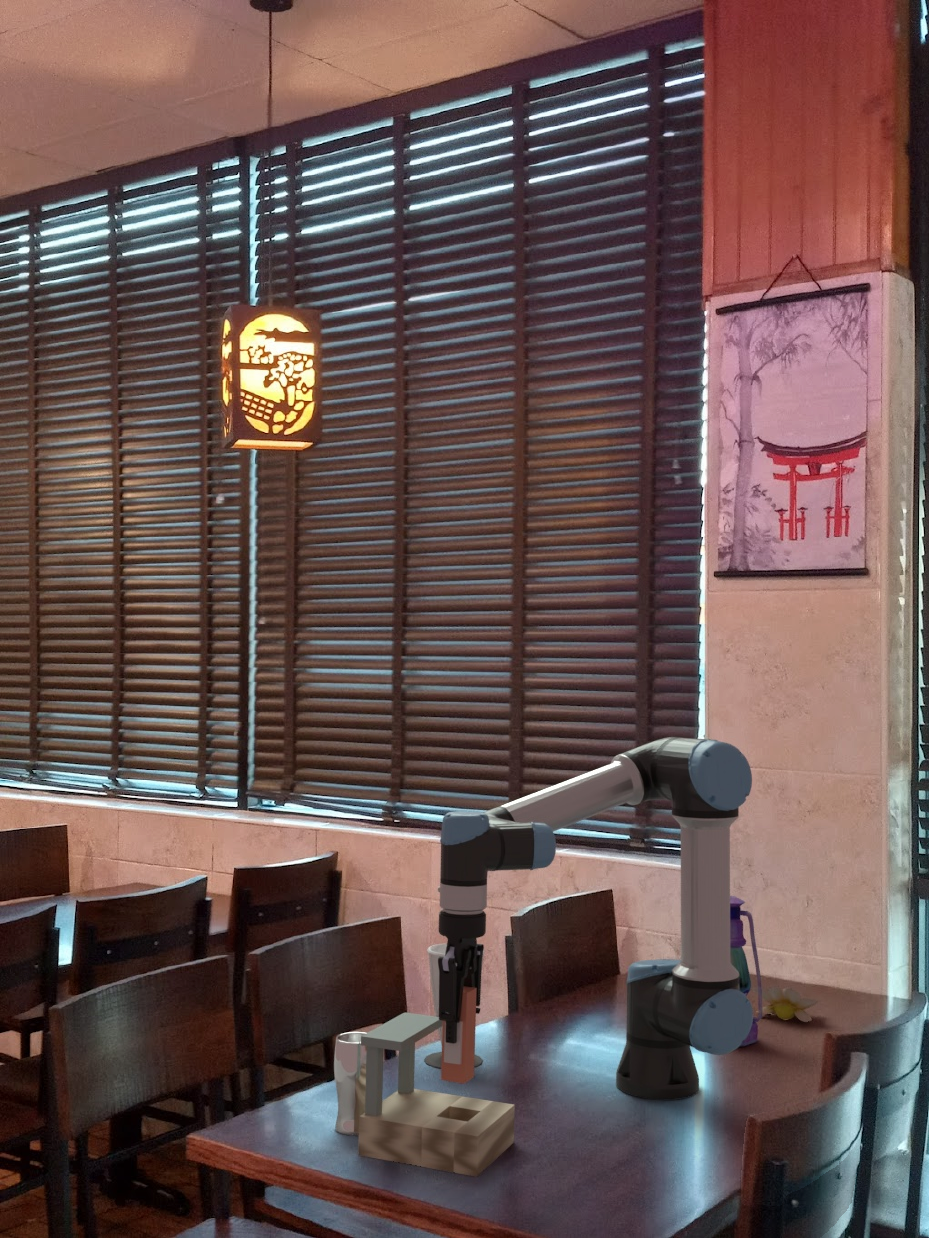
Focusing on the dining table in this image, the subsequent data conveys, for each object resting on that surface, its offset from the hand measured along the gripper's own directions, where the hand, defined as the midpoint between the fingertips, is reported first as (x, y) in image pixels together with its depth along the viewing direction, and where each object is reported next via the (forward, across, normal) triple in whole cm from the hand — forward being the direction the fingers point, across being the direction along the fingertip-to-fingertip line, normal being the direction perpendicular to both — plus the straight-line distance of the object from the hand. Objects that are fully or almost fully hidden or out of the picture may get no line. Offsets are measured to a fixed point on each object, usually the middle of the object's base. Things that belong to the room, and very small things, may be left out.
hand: (458, 1058), depth 208 cm
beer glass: (+15, -2, -19) cm, 25 cm away
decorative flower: (+14, -107, +35) cm, 113 cm away
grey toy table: (+9, 0, -10) cm, 13 cm away
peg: (+3, 0, 0) cm, 3 cm away
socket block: (+15, 0, -3) cm, 15 cm away
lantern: (+14, -83, +27) cm, 89 cm away
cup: (+15, -44, -19) cm, 50 cm away
